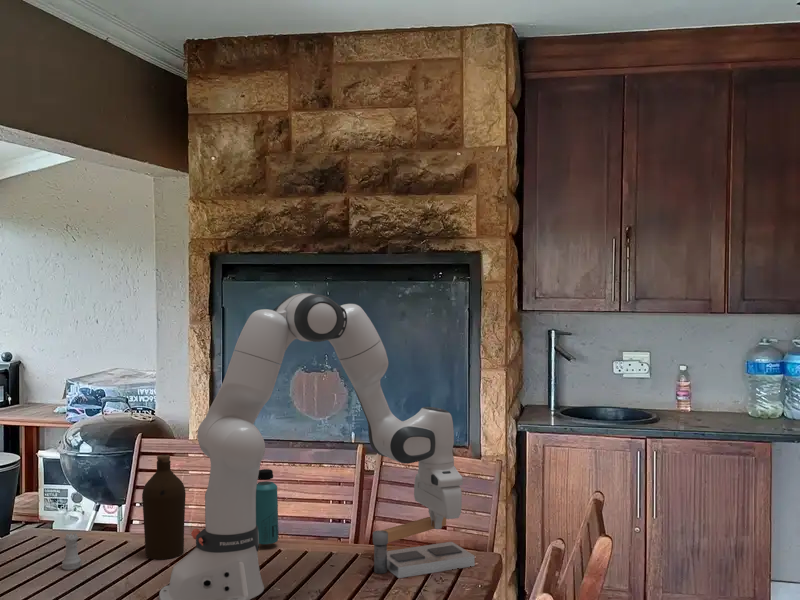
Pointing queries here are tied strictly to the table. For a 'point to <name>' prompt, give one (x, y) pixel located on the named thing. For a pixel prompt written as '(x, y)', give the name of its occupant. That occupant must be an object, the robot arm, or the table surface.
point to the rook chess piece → (71, 553)
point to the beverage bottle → (267, 508)
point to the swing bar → (403, 531)
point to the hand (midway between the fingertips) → (436, 527)
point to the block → (421, 559)
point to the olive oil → (164, 512)
